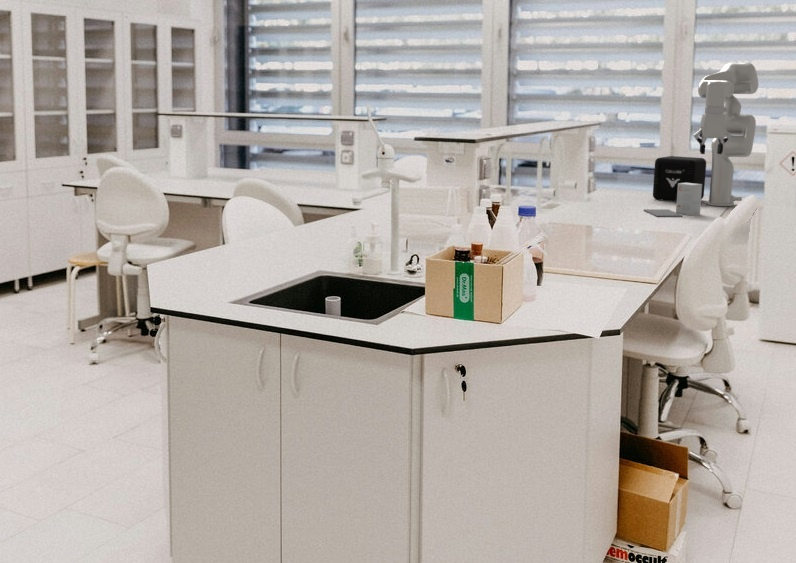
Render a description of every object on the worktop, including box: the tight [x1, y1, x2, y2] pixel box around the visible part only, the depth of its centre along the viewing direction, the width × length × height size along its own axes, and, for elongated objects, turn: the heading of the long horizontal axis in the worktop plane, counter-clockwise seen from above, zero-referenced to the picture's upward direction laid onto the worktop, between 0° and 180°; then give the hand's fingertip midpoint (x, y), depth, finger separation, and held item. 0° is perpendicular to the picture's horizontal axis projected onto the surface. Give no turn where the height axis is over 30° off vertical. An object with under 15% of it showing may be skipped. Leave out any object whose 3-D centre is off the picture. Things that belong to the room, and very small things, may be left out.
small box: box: [675, 183, 702, 216], centre depth 391 cm, size 8×6×13 cm
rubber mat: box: [643, 208, 684, 218], centre depth 392 cm, size 11×18×1 cm, turn 3°
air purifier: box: [652, 155, 707, 202], centre depth 435 cm, size 20×15×20 cm
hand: (710, 153), depth 388 cm, fingers open, 6 cm apart
